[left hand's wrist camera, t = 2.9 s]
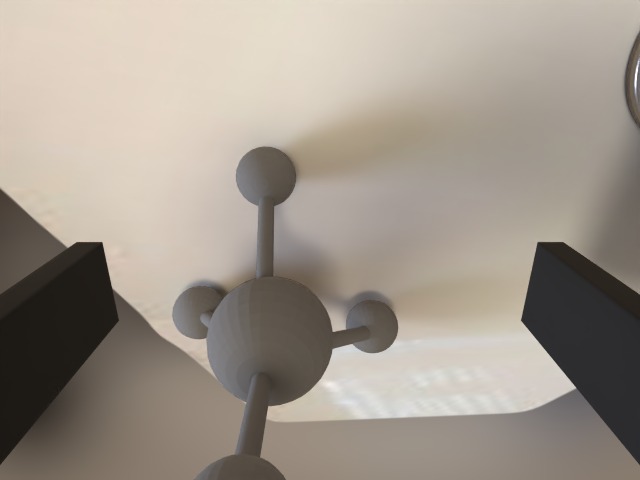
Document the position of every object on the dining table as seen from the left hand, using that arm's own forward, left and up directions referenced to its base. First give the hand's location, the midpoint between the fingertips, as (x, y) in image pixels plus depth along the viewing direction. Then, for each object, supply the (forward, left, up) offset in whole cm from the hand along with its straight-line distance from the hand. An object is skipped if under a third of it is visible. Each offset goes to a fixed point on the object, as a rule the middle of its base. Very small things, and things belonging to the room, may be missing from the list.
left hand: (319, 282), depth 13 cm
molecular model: (-5, +10, -29) cm, 31 cm away
